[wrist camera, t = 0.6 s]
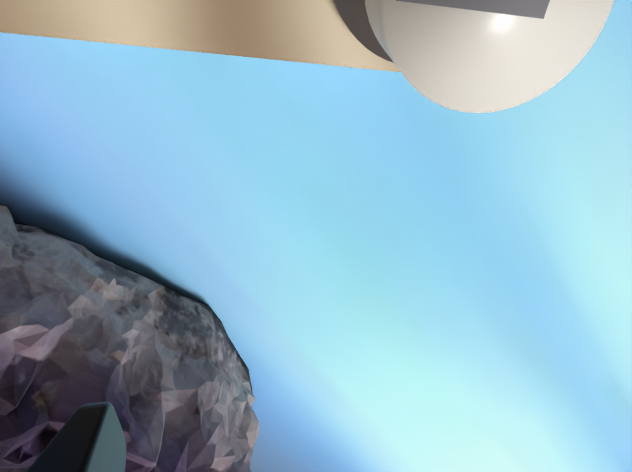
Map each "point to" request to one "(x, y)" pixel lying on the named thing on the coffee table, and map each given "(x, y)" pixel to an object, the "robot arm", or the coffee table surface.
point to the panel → (212, 27)
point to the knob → (486, 46)
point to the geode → (114, 360)
